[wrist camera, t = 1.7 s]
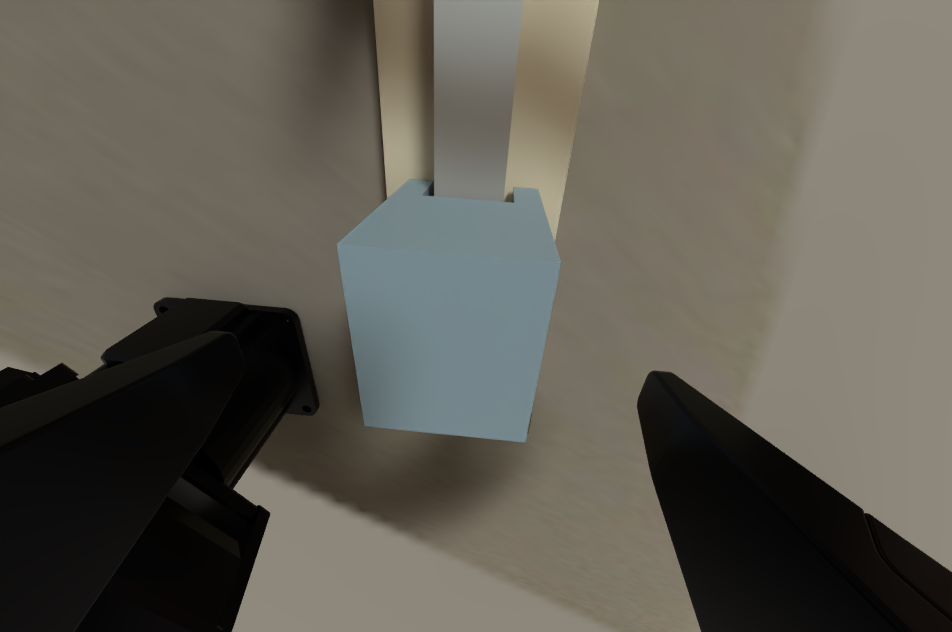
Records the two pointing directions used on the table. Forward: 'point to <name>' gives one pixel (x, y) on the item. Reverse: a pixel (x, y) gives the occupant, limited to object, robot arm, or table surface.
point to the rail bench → (482, 94)
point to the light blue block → (450, 310)
